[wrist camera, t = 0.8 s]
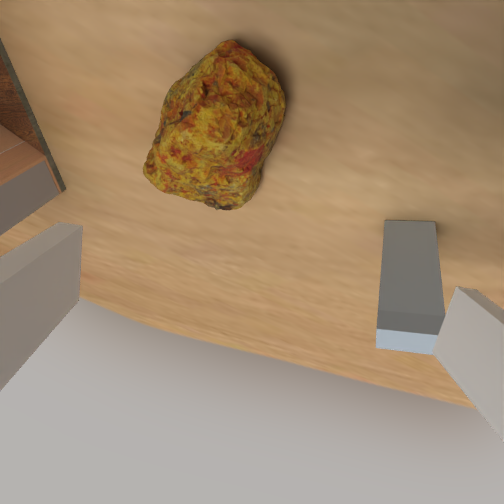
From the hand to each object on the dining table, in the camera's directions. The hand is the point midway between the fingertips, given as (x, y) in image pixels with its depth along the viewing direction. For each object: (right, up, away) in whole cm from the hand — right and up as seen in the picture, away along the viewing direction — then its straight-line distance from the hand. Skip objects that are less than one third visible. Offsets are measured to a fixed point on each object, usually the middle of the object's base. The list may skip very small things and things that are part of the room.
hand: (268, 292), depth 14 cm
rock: (-3, +11, +16) cm, 20 cm away
